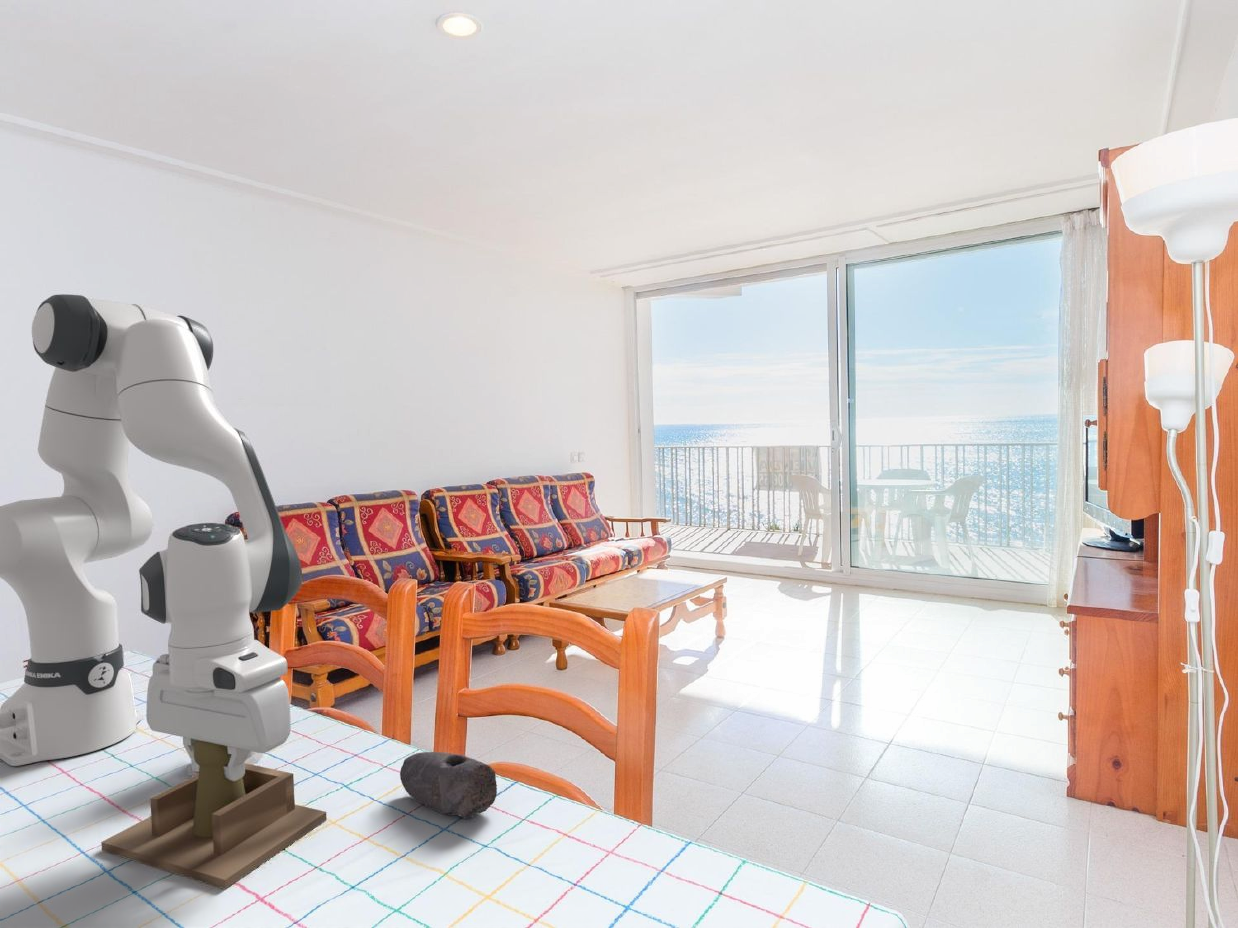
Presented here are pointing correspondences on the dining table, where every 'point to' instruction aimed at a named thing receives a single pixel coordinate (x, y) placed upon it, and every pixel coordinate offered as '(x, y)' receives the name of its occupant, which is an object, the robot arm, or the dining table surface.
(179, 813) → the u rest
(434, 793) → the perforated stone tool
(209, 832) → the cork
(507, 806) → the dining table surface
